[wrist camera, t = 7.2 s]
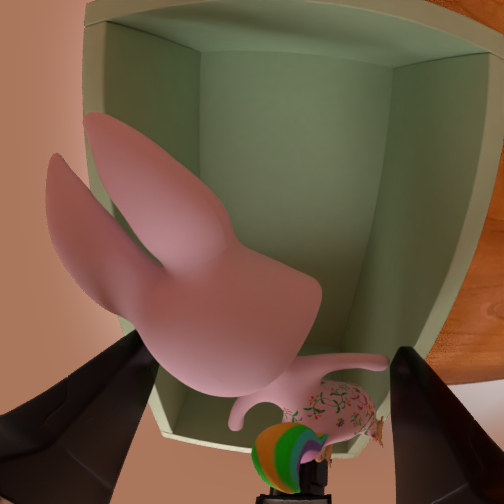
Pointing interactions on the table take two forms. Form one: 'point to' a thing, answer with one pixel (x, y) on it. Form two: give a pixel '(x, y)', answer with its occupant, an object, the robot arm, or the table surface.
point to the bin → (315, 160)
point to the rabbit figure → (206, 298)
